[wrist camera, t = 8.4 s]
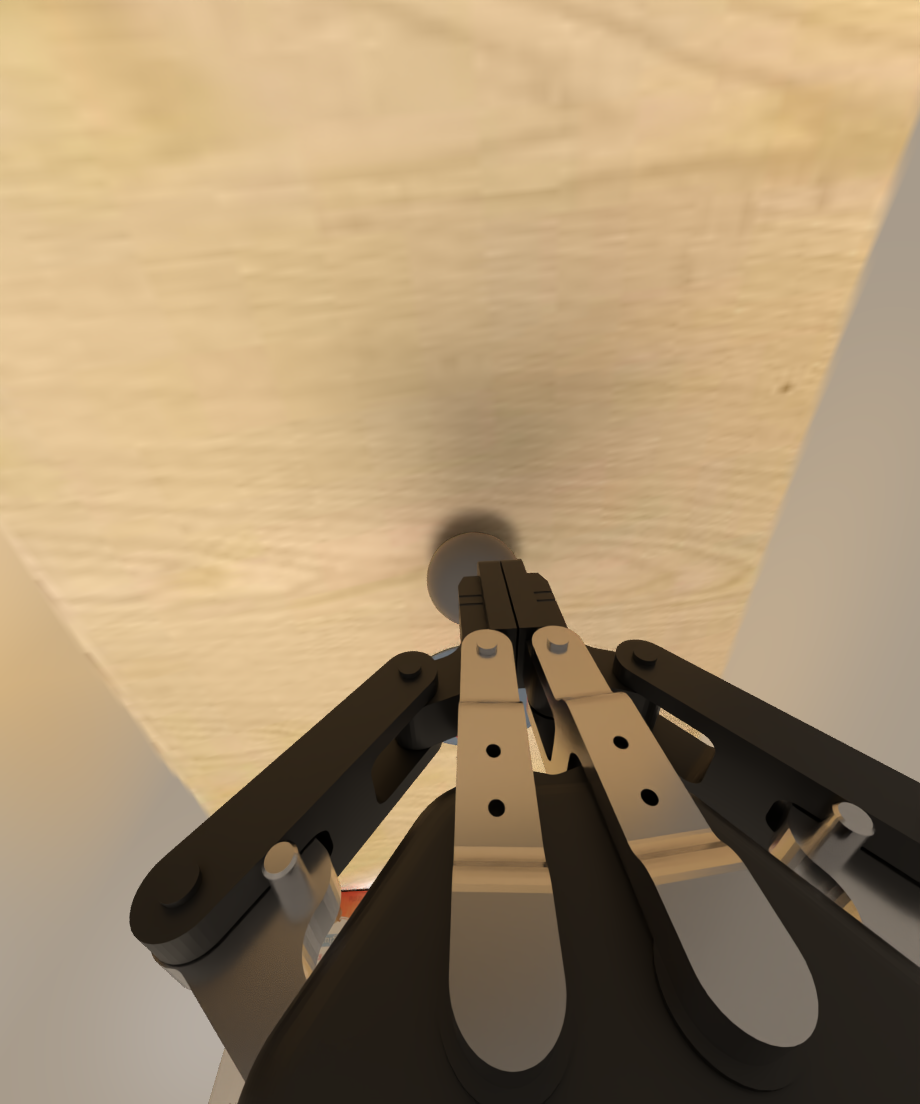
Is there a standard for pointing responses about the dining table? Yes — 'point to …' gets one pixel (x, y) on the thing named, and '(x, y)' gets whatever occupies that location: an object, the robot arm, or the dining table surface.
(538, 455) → the dining table surface
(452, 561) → the gray ball
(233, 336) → the dining table surface
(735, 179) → the dining table surface
